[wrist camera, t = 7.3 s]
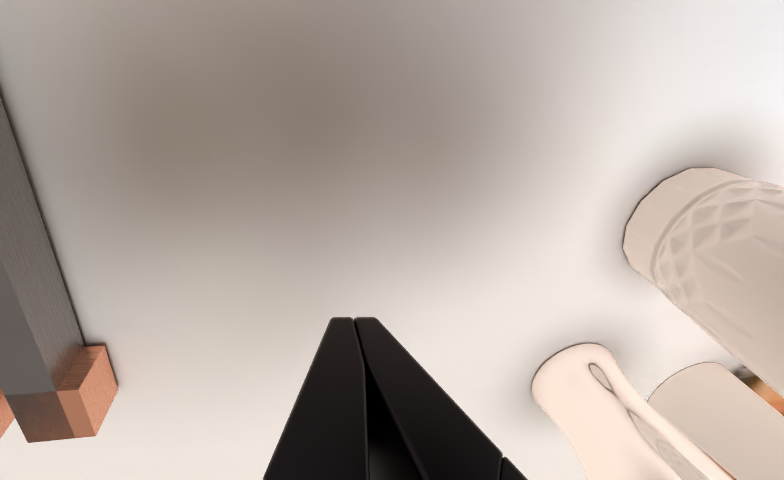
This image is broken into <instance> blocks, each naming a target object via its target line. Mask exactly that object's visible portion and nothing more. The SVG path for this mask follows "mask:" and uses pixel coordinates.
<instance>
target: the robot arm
mask: <svg viewBox="0 0 784 480" xmlns="http://www.w3.org/2000/svg"><path fill="white" fill-rule="evenodd" d="M502 456H503V454H502V452H501V451H500V450H499V449H498V448H497V447H496V446H495V444H494V443H493V442H492V441H491V440H490V439H489V438H488V437H487V436H486V435H485V434H484V433H483V432H482V431H481V430H480V428H479V427H478V426H477V425H476V424H475V423H474V422H473V421H472V420H471V419H470V418H469V417H468V416H467V415H466V413H465V412H464V411H463V410H462V409H461V408H460V407H459V406H458V405H457V404H456V403H455V402H454V401H453V400H452V398H451V397H450V396H449V395H448V394H447V393H446V392H445V391H444V390H443V389H442V388H441V387H440V386H439V385H438V384H437V382H436V381H435V380H434V379H433V378H432V377H431V376H430V375H429V374H428V373H427V372H426V371H425V370H424V369H423V367H422V366H421V365H420V364H419V363H418V362H417V361H416V360H415V359H414V358H413V357H412V356H411V355H410V354H409V352H408V351H407V350H406V349H405V348H404V347H403V346H402V345H401V344H400V343H399V342H398V341H397V340H396V339H395V338H394V336H393V335H392V334H391V333H390V332H389V331H388V330H387V329H386V328H385V327H384V326H383V325H382V324H381V323H380V321H379V320H378V319H376V318H375V317H356V318H355V319H354V320H353V319H352V318H351V317H333V318H331V320H330V322H329V324H328V326H327V329H326V331H325V333H324V336H323V338H322V340H321V343H320V345H319V347H318V350H317V352H316V355H315V357H314V359H313V362H312V364H311V366H310V369H309V371H308V373H307V376H306V378H305V380H304V383H303V385H302V388H301V390H300V392H299V395H298V397H297V399H296V402H295V404H294V406H293V409H292V411H291V413H290V416H289V418H288V421H287V423H286V425H285V428H284V430H283V432H282V435H281V437H280V439H279V442H278V444H277V446H276V449H275V451H274V454H273V456H272V458H271V461H270V463H269V465H268V468H267V470H266V472H265V475H264V477H263V480H528V479H527V478H526V477H525V476H524V475H523V474H522V473H521V472H520V471H519V470H518V469H517V468H516V467H515V466H514V465H513V463H512V462H511V461H510V460H509V459H508V458H507V457H503V458H502Z"/></svg>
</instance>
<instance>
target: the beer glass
mask: <svg viewBox="0 0 784 480" xmlns="http://www.w3.org/2000/svg"><path fill="white" fill-rule="evenodd" d="M532 394H533V397H534V399H535V401H536V402H537V403H538V405H539V406H540V407H541V408H542V409H543V410H544V411H545V413H546V414H547V415H548V416H549V417H550V418H551V419H552V420H553V421H554V423H555V424H556V425H557V426H558V427H559V429H560V430H561V431H562V433H563V434H564V436H565V437H566V439H567V440H568V442H569V444H570V445H571V447H572V449H573V451H574V453H575V454H576V457H577V459H578V461H579V463H580V465H581V468H582V470H583V472H584V474H585V477H586V479H587V480H739V479H738V478H737V477H736V476H734V475H733V474H732V473H731V472H730V471H729V470H728V469H727V468H725V467H724V466H723V465H722V464H721V463H720V462H719V461H717V460H716V459H715V458H714V457H713V456H711V455H710V454H709V453H708V452H707V451H705V450H704V449H703V448H702V447H700V446H699V445H698V444H697V443H696V442H694V441H693V440H692V439H691V438H690V437H688V436H687V435H686V434H685V433H683V432H682V431H681V430H680V429H678V428H677V427H676V426H675V425H673V424H672V423H671V422H670V421H668V420H667V419H666V418H665V417H664V416H663V415H661V414H660V413H659V412H658V411H657V410H655V409H654V408H653V407H652V406H651V405H650V404H649V403H648V402H647V401H646V400H645V399H644V398H643V397H642V396H641V395H640V394H639V393H638V392H637V391H636V390H635V388H634V387H633V386H632V385H631V384H630V382H629V381H628V380H627V378H626V377H625V375H624V373H623V372H622V370H621V369H620V367H619V365H618V364H617V362H616V360H615V359H614V357H613V355H612V354H611V353H610V351H609V350H608V349H606V348H605V347H603V346H601V345H598V344H579V345H575V346H572V347H569V348H567V349H564V350H562V351H560V352H559V353H557V354H555V355H554V356H553V357H551V358H550V359H549V360H547V361H546V362H545V363H544V364H543V365H542V366H541V368H540V369H539V370H538V372H537V373H536V375H535V377H534V379H533V383H532Z"/></svg>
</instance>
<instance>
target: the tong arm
mask: <svg viewBox="0 0 784 480" xmlns="http://www.w3.org/2000/svg"><path fill="white" fill-rule="evenodd" d="M0 388H1V390H2V392H3V394H4V396H5V398H6V400H7V402H8V404H9V406H10V408H11V410H12V412H13V414H14V416H15V418H16V420H17V422H18V424H19V426H20V428H21V430H22V432H23V434H24V436H25V438H26V440H27V442H28V443H31V442H41V441H51V440H61V439H71V438H81V437H91V436H96V435H97V433H98V430H99V428H100V426H101V424H102V422H103V420H104V418H105V416H106V414H107V412H108V410H109V408H110V406H111V404H112V402H113V399H114V397H115V395H116V393H117V391H118V388H117V385H116V382H115V378H114V375H113V372H112V369H111V365H110V362H109V359H108V356H107V352H106V349H105V346H90V347H85V345H84V342H83V339H82V336H81V333H80V330H79V328H78V325H77V322H76V319H75V316H74V313H73V310H72V307H71V304H70V301H69V298H68V295H67V292H66V289H65V286H64V283H63V280H62V277H61V274H60V271H59V269H58V266H57V263H56V260H55V257H54V254H53V251H52V248H51V245H50V242H49V239H48V236H47V233H46V230H45V227H44V224H43V221H42V218H41V215H40V212H39V210H38V207H37V204H36V201H35V198H34V195H33V192H32V189H31V186H30V183H29V180H28V177H27V174H26V171H25V168H24V165H23V162H22V159H21V156H20V153H19V151H18V148H17V145H16V142H15V139H14V136H13V133H12V130H11V127H10V124H9V121H8V118H7V115H6V112H5V109H4V106H3V103H2V100H1V97H0Z"/></svg>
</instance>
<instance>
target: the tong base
mask: <svg viewBox="0 0 784 480" xmlns="http://www.w3.org/2000/svg"><path fill="white" fill-rule="evenodd" d="M14 418H15V416H14V414H13V412H12V410H11V408H10V406H9V404H8V402H7V400H6V398H5V396H4V394H3V392H2V390H1V388H0V438H1V437H2V435H3V434H4V432H5V431H6V430H7V428H8V427H9V425H10V424H11V423H12V421H13V420H14Z"/></svg>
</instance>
